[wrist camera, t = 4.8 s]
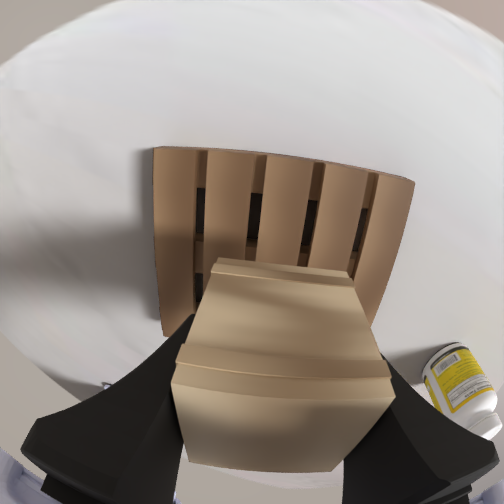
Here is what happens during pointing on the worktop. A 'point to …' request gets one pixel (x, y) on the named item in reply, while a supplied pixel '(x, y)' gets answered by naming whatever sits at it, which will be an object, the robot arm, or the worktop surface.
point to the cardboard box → (278, 370)
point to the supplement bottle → (462, 390)
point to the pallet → (271, 220)
